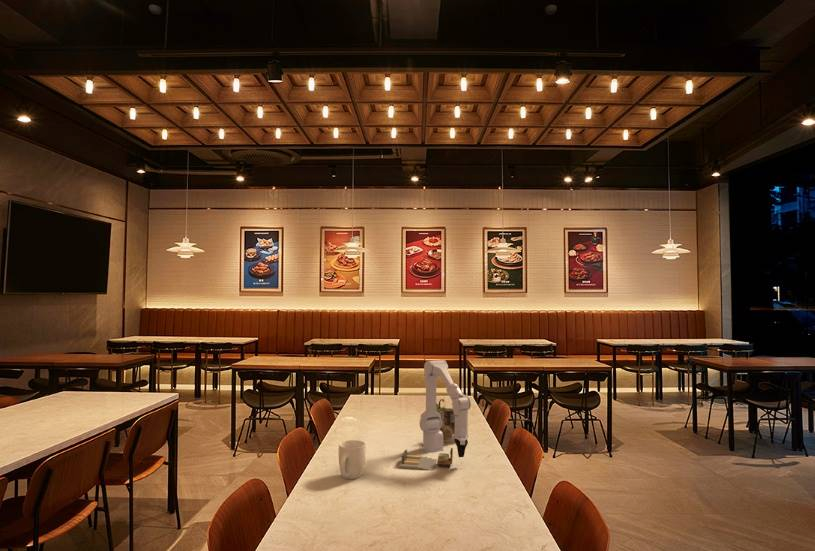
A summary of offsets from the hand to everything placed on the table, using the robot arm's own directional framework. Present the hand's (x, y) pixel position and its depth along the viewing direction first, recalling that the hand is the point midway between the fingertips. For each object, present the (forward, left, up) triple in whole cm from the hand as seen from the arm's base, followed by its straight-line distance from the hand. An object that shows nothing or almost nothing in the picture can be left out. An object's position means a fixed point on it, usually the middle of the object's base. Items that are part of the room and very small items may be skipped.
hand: (461, 456), depth 195 cm
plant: (-29, -83, -5) cm, 88 cm away
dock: (+16, -9, -4) cm, 19 cm away
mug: (+48, -5, -5) cm, 49 cm away
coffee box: (-12, -36, -5) cm, 38 cm away
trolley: (+6, -4, -4) cm, 8 cm away
